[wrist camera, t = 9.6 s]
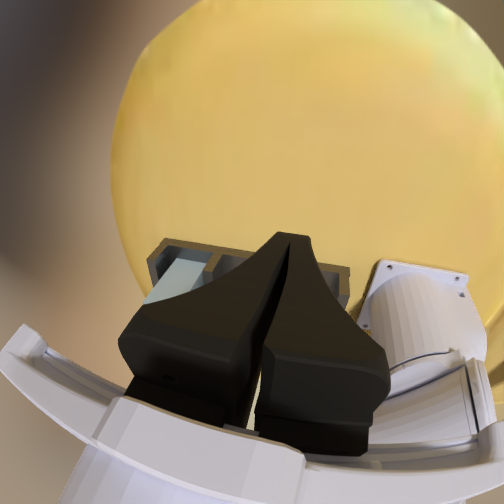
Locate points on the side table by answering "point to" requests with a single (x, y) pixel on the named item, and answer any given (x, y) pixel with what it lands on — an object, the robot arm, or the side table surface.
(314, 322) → the robot arm
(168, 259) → the rack
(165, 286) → the light grey rectangular block
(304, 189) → the side table surface
